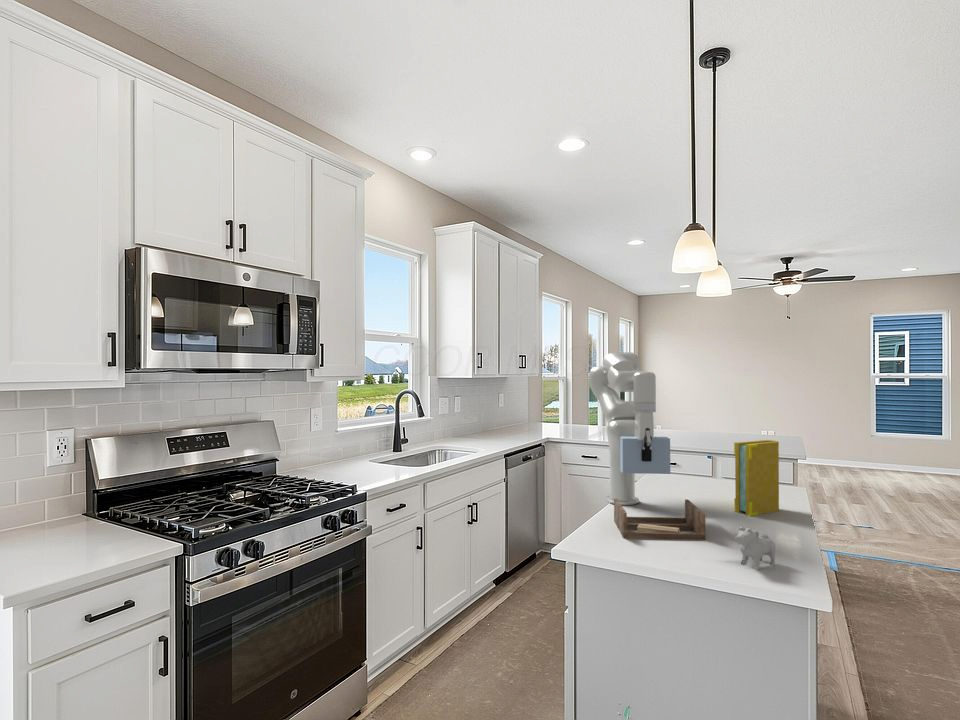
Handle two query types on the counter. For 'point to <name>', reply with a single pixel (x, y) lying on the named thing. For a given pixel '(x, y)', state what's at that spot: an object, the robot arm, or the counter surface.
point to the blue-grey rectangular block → (633, 456)
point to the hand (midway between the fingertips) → (644, 459)
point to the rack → (692, 519)
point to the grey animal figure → (755, 546)
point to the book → (756, 477)
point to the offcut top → (656, 529)
